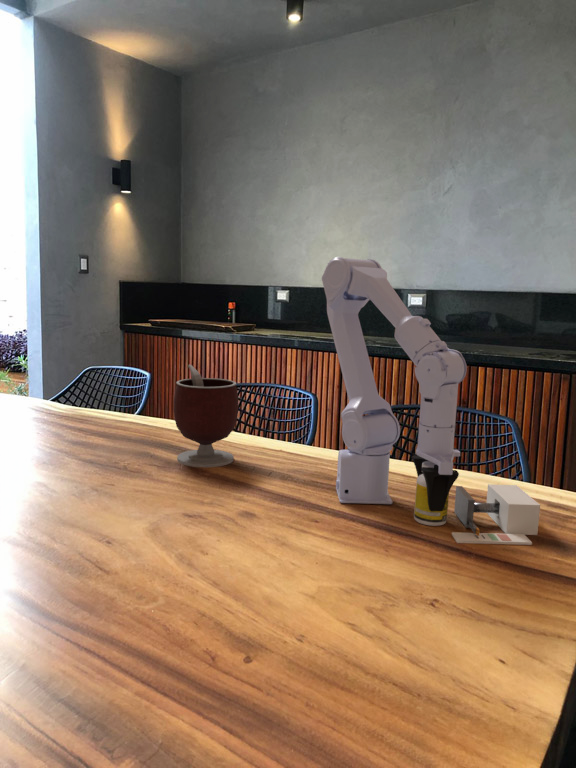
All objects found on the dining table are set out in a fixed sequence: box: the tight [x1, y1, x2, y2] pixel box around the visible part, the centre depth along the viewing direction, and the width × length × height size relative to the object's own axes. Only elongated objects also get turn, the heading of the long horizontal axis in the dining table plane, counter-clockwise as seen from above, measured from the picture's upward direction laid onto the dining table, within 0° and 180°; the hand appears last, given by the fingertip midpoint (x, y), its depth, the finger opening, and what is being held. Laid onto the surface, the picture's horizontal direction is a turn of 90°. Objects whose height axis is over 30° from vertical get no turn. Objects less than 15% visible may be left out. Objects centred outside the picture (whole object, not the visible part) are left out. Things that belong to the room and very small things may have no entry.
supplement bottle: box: [413, 461, 450, 527], centre depth 103 cm, size 5×5×10 cm
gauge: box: [451, 484, 541, 546], centre depth 101 cm, size 14×14×5 cm
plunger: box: [453, 485, 500, 536], centre depth 101 cm, size 8×11×5 cm
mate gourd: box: [173, 364, 239, 468], centre depth 135 cm, size 16×14×20 cm
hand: (431, 504), depth 103 cm, fingers closed on supplement bottle, 5 cm apart
